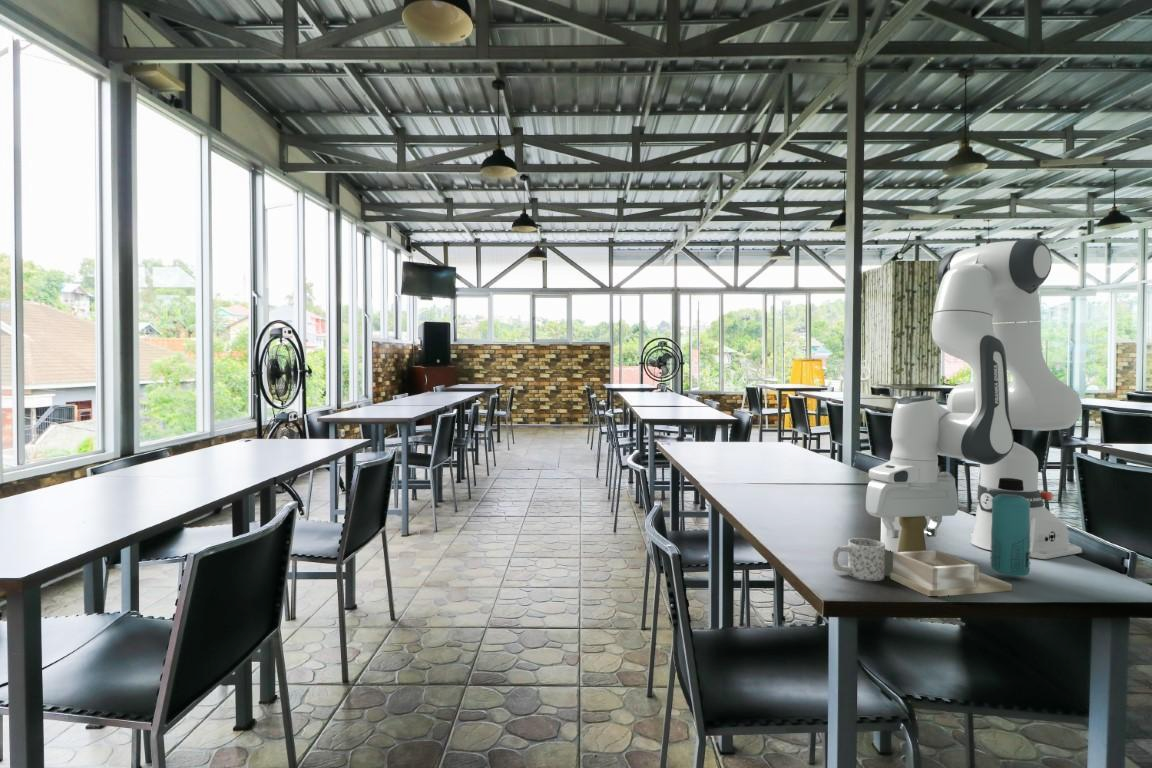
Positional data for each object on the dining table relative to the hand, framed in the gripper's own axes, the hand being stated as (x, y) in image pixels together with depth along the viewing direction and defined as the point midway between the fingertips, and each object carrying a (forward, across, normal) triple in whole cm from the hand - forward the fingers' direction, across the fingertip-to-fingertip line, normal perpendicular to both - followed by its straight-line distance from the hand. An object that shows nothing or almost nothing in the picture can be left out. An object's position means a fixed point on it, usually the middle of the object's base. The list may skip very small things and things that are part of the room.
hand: (911, 537), depth 128 cm
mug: (+7, +16, +3) cm, 17 cm away
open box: (+6, +2, +12) cm, 13 cm away
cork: (+6, -1, 0) cm, 6 cm away
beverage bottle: (+6, -14, +11) cm, 18 cm away
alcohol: (+6, -7, -10) cm, 14 cm away
